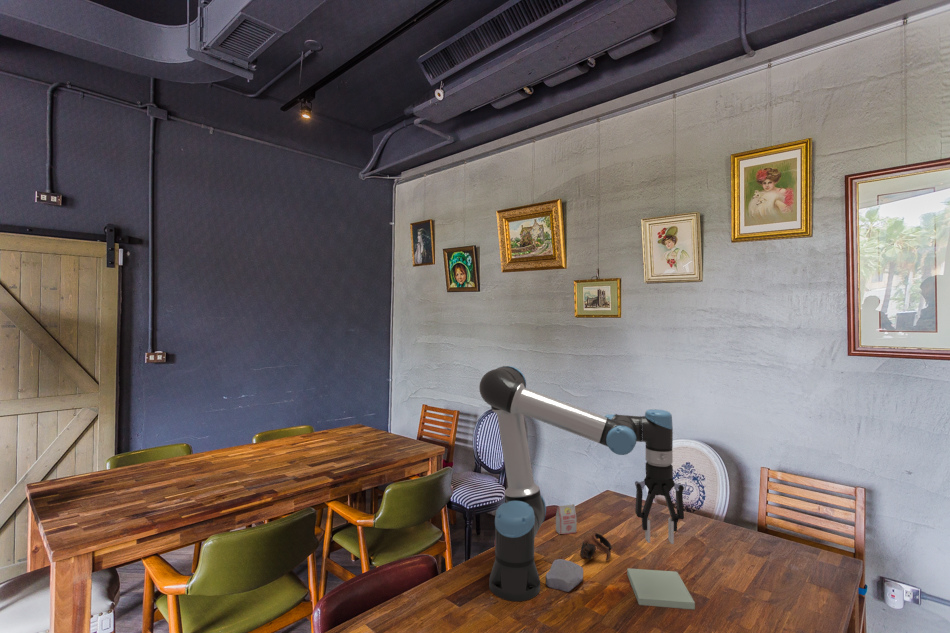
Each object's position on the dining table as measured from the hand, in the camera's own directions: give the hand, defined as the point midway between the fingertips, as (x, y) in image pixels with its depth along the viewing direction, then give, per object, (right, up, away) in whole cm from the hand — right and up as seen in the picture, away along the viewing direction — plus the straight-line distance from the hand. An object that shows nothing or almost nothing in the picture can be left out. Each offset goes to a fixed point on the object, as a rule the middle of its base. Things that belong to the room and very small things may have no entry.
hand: (659, 541), depth 138 cm
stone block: (-22, -14, +2) cm, 27 cm away
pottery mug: (-17, -16, +19) cm, 30 cm away
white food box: (-20, -15, +39) cm, 46 cm away
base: (0, -15, 0) cm, 15 cm away
